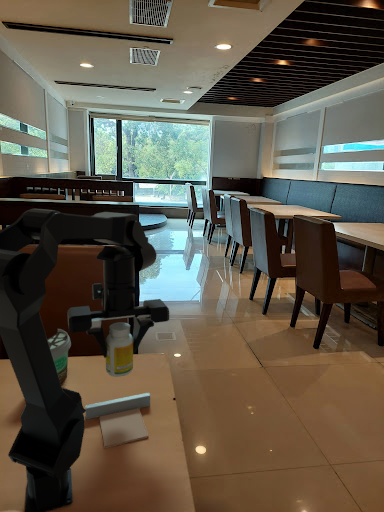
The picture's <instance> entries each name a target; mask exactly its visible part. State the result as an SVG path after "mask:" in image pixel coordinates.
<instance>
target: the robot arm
mask: <svg viewBox="0 0 384 512" xmlns="http://www.w3.org/2000/svg"><path fill="white" fill-rule="evenodd" d="M34 240H38V241H39V242H38V245H37V247H35V249H34V250H33V251H32V252H31V253H29V252H28V253H27V252H22V251H20V250H22V249H24V248H26V247H27V246H28V245H30V244H31V243H32V242H33V241H34ZM64 240H94V241H96V242H100V243H103V244H108V245H105V246H104V247H103V248H102V250H101V251H99V252H98V254H97V256H96V260H98V261H103V263H102V264H103V269H102V270H103V284H102V283H94V284H92V285H91V286H92V287H91V295H92V300H94V301H95V300H101V307H102V308H104V309H103V310H95V311H91V309H90V305H83V306H73V307H70V308H69V309H68V310H67V325H68V332H69V333H72V334H73V333H74V334H75V333H83V332H86V335H89V336H91V335H92V336H93V337H94V339H95V340H96V342H97V343H98V345H99V348H100V351H101V353H102V356H103V358H105V359H106V353H107V352H106V338H105V333H104V328H103V324H102V321H103V322H104V321H105V322H106V321H114V320H123V319H130V318H133V330H132V331H133V332H132V336H133V354H136V353H137V350H138V348H139V346H140V344H141V343H142V340H143V338H144V337H145V335H146V334H147V332H148V330H149V329H150V328H154V326H155V324H157V323H164V322H169V321H170V308H169V307H168V306H167V305H166V303H165V302H164V301H163V300H162V299H161V298H157V299H156V298H155V299H147V300H146V299H145V300H143V303H142V305H140V306H135V294H136V288H135V285H136V284H135V283H136V281H135V280H136V279H135V274H137V273H139V272H141V271H143V270H145V269H147V268H150V267H151V266H153V265H154V264H155V263H156V261H157V256H158V255H157V254H158V253H157V252H156V249H155V247H154V246H153V245H152V244H151V243H150V242H149V237H148V236H147V235H146V234H145V231H144V228H143V225H142V223H141V221H139V216H138V215H137V214H133V213H121V212H110V211H103V212H98V213H94V215H85V214H84V215H83V214H75V213H64V212H60V211H59V210H53V209H43V208H30V209H28V210H25V211H24V212H22V214H21V215H19V217H18V218H17V219H16V220H15V221H14V222H13V223H11V224H8V226H6V227H4V228H2V229H1V230H0V339H1V341H2V343H3V346H4V348H5V351H6V354H7V357H8V359H9V362H10V364H11V367H12V370H13V372H14V374H15V378H16V380H17V383H18V386H19V388H20V390H21V393H22V396H23V399H24V401H25V405H24V407H23V410H22V412H21V414H20V424H21V426H20V428H19V431H18V432H17V434H16V437H15V439H14V440H13V441H14V442H13V443H12V446H11V447H10V450H9V452H8V453H7V455H8V458H9V459H10V460H11V461H12V463H14V464H15V463H17V464H19V465H21V466H24V467H25V472H26V488H25V501H24V512H49V511H50V512H51V511H53V510H57V509H60V508H63V507H67V506H70V505H71V504H72V503H73V500H74V498H73V482H72V481H73V479H72V466H73V464H74V463H75V462H76V461H77V460H78V459H79V458H80V456H81V450H82V447H83V446H82V445H83V439H84V436H85V435H84V434H85V427H86V426H85V420H86V419H85V416H84V415H85V414H86V409H85V407H84V406H83V400H82V399H83V398H82V396H81V394H80V392H77V391H74V390H71V389H68V388H64V387H62V383H60V380H59V376H58V373H57V370H56V366H55V363H54V360H53V357H52V353H51V350H50V347H49V343H48V340H47V339H48V338H47V334H46V330H45V326H44V325H43V320H42V317H41V314H40V310H41V307H42V304H43V303H44V301H45V297H46V295H47V289H46V287H47V286H46V279H47V278H48V277H49V275H50V274H51V273H52V271H53V270H54V268H55V267H56V266H57V263H58V252H59V246H60V244H61V243H62V241H64ZM84 413H85V414H84Z"/></svg>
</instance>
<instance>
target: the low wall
mask: <svg viewBox="0 0 384 512" xmlns="http://www.w3.org/2000/svg"><path fill="white" fill-rule="evenodd" d="M150 406H151V394H150V392H145V393H140V394H135V395H130V396H125V397H120V398H115V399H111V400H106V401H100V402H96V403H90V404H86V405H85V407H84V409H85V410H86V412H85V420H90V419H94V418H98V417H100V416H104V415H109V414H114V413H118V412H123V411H128V410H132V409H137V408H139V409H141V408H145V407H150Z"/></svg>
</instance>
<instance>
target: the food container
mask: <svg viewBox="0 0 384 512" xmlns="http://www.w3.org/2000/svg"><path fill="white" fill-rule="evenodd" d="M47 340H48V343H49V347H50V350H51V353H52V357H53V360H54V363H55V366H56V370H57V373H58V376H59V380H60V383H61V384H62V383H64V382H65V381H66V379H67V378H68V360H69V350H70V348H71V346H72V342H71V338H70V336H69V334H68V332H67V331H65V330H64V329H61V328H57V332H56V333H55V334H54V335H52V336H50V337H48V338H47Z"/></svg>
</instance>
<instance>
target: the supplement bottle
mask: <svg viewBox="0 0 384 512" xmlns="http://www.w3.org/2000/svg"><path fill="white" fill-rule="evenodd" d="M108 326H109V327H108V328H109V329H108V333H109V334H108V335H107V336H106V338H105V345H106V352H107V353H106V358H105V371H106V373H107V375H109V376H111V377H115V378H116V377H117V378H118V377H119V378H121V377H125V376H128V375H130V374H131V373H132V371H133V369H134V353H133V334H131V325H130V324H129V323H127V322H123V321H122V322H121V321H118V322H112V324H110V325H108Z"/></svg>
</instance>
